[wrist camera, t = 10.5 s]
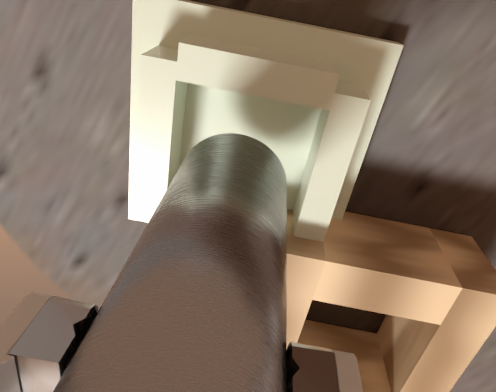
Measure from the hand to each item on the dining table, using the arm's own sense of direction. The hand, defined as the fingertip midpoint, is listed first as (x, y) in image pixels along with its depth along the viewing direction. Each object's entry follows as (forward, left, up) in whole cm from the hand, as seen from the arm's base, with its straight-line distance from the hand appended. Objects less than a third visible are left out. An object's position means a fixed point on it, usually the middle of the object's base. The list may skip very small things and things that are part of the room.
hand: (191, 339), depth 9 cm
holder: (0, 0, -13) cm, 13 cm away
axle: (0, 0, -8) cm, 8 cm away
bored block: (-8, +9, -13) cm, 18 cm away
